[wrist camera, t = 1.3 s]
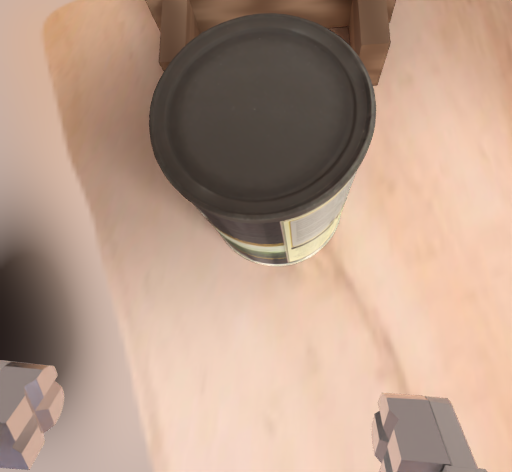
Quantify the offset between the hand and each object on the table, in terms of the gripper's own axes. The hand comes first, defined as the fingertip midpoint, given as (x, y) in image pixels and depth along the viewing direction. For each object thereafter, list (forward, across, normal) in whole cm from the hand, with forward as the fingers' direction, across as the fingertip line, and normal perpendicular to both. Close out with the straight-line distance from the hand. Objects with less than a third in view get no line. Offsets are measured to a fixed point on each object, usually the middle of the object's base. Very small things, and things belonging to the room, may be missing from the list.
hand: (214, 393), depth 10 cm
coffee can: (+22, -1, +5) cm, 23 cm away
